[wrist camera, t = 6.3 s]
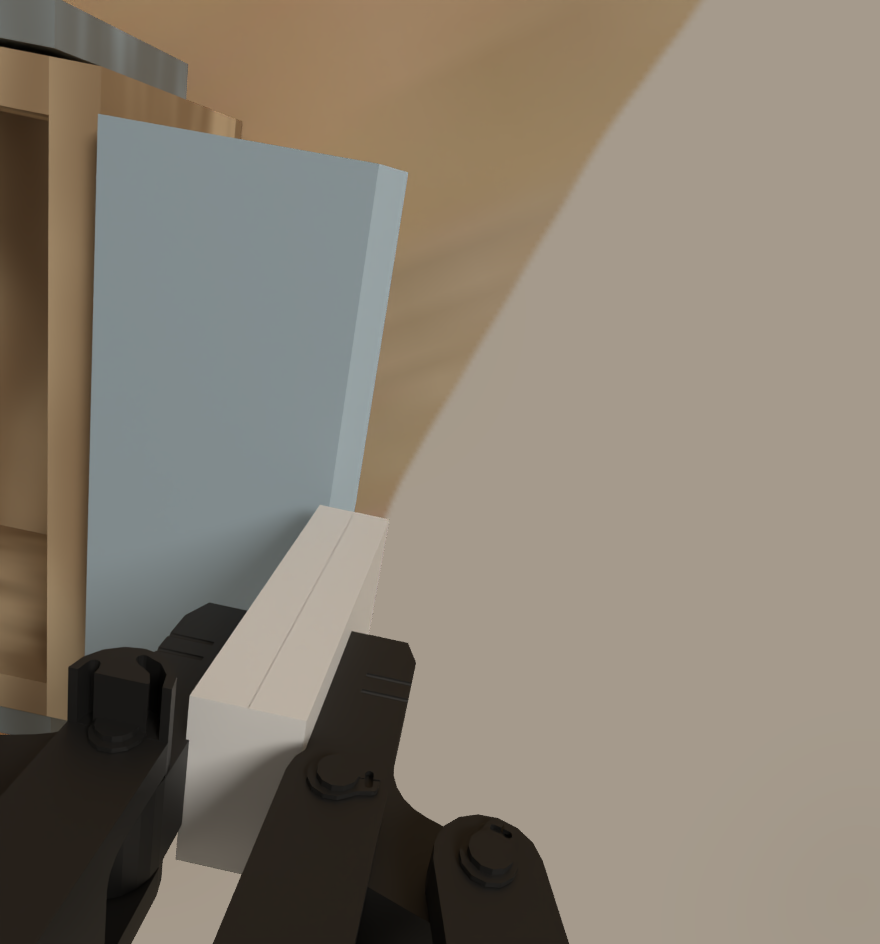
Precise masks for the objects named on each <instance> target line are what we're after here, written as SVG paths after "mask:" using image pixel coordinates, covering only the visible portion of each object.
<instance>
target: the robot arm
mask: <svg viewBox="0 0 880 944" xmlns="http://www.w3.org/2000/svg"><path fill="white" fill-rule="evenodd" d="M388 525H389V519H385V518H380V517H375V516H371V515H366V514H361V513H356V512H352V511H347V510H342V509H337V508H333V507H328V506H323V505H319V507H318V508H317V510H316V511H315V513H314V514H313V516H312V517H311V519H310V520H309V522H308V523H307V525H306V526H305V527H304V529H303V530H302V532H301V533H300V535H299V536H298V538H297V539H296V541H295V542H294V544H293V545H292V546H291V548H290V549H289V551H288V552H287V554H286V555H285V557H284V558H283V560H282V561H281V563H280V564H279V566H278V567H277V568H276V570H275V571H274V573H273V574H272V576H271V577H270V579H269V580H268V582H267V583H266V585H265V586H264V587H263V589H262V590H261V592H260V593H259V595H258V596H257V598H256V599H255V601H254V602H253V604H252V605H251V607H250V608H249V609H248V611H247V610H242V609H238V608H233V607H228V606H224V605H219V604H214V603H210V602H209V603H207V604H205V605H203V606H201V607H200V608H198V609H196V610H194V611H192V612H190V613H188V614H186V615H185V616H184V617H183V618H182V619H181V620H180V622H179V623H178V624H177V625H176V626H175V628H174V629H173V630H172V631H171V632H170V636H167V637H166V638H165V640H164V641H163V642H162V643H161V644H160V646H159V647H158V650H157V651H155V652H153V651H150V650H148V649H143V648H133V647H119V648H111V649H103V650H100V651H97V652H94V653H92V654H89V655H86V656H83V657H82V658H80V659H79V660H78V661H76V662H75V663H73V664H72V665H70V666H69V667H68V710H67V722H66V723H65V724H64V725H63V727H62V728H61V729H60V730H59V731H57V732H53V733H42V734H19V735H0V944H131V943H132V941H133V939H134V937H135V935H136V934H137V932H138V930H139V928H140V926H141V924H142V922H143V920H144V918H145V916H146V914H147V913H148V911H149V909H150V907H151V905H152V903H153V901H154V899H155V897H156V895H157V892H158V888H159V885H160V881H161V875H162V863H163V858H164V856H165V854H166V853H167V851H168V849H169V847H170V845H171V843H172V842H173V840H174V838H175V836H176V834H177V832H178V838H177V850H176V860H181V861H186V862H190V863H195V864H199V865H203V866H208V867H213V868H217V869H221V870H225V871H230V872H234V873H239V874H242V875H241V878H240V880H239V882H238V884H237V887H236V889H235V892H234V894H233V896H232V899H231V901H230V904H229V906H228V908H227V911H226V913H225V916H224V918H223V920H222V923H221V925H220V928H219V930H218V932H217V935H216V937H215V940H214V942H213V944H569V942H568V939H567V936H566V933H565V930H564V926H563V924H562V920H561V917H560V914H559V911H558V908H557V905H556V902H555V898H554V895H553V892H552V889H551V886H550V883H549V880H548V876H547V873H546V870H545V867H544V864H543V861H542V859H541V857H540V855H539V853H538V851H537V849H536V848H535V846H534V844H533V842H532V841H530V840H529V839H528V838H527V837H526V836H525V835H524V834H523V833H522V832H521V831H520V830H519V829H518V828H516V827H514V826H512V825H510V824H508V823H506V822H504V821H503V820H500V819H498V818H494V817H489V816H483V815H471V816H464V817H458V818H457V819H455V820H453V821H452V822H450V823H448V824H447V825H445V826H444V827H443V826H441V825H440V824H438V823H436V822H434V821H432V820H430V819H428V818H426V817H425V816H423V815H422V814H421V813H419V812H417V811H416V810H414V809H413V808H412V807H411V806H410V805H409V804H408V803H407V802H406V801H405V800H404V799H403V797H402V795H401V793H400V792H399V790H398V788H397V786H396V783H395V779H394V765H395V760H396V755H397V751H398V746H399V742H400V737H401V732H402V727H403V722H404V718H405V713H406V708H407V703H408V698H409V693H410V688H411V684H412V679H413V674H414V670H415V665H416V662H415V659H414V657H413V655H412V652H411V649H410V647H409V645H408V643H405V642H401V641H396V640H391V639H387V638H382V637H377V636H373V635H368V634H369V631H370V626H371V620H372V615H373V609H374V603H375V598H376V592H377V587H378V581H379V575H380V569H381V564H382V559H383V553H384V547H385V542H386V536H387V531H388Z"/></svg>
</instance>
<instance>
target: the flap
mask: <svg viewBox="0 0 880 944" xmlns="http://www.w3.org/2000/svg"><path fill="white" fill-rule="evenodd" d="M407 177H408V172H405V171H401V170H398V169H395V168H391V167H388V166H384V165H381V164H376V163H371V162H365V161H359V160H354V159H348V158H343V157H337V156H332V155H326V154H320V153H315V152H309V151H304V150H298V149H292V148H287V147H281V146H276V145H270V144H264V143H259V142H253V141H248V140H242V139H237V138H231V137H225V136H220V135H214V134H209V133H203V132H197V131H192V130H186V129H181V128H175V127H169V126H164V125H158V124H153V123H147V122H142V121H136V120H130V119H125V118H119V117H114V116H108V115H102V114H98V131H97V173H96V214H95V255H94V297H93V338H92V379H91V421H90V462H89V503H88V545H87V586H86V627H85V656H86V655H89V654H92V653H94V652H97V651H100V650H103V649H111V648H119V647H133V648H143V649H148V650H150V651H153V652H155V651H157V650H158V647H159V646H160V644H161V643H162V642H163V641H164V640H165V638H166V637H167V636H170V632H171V631H172V630H173V629H174V628H175V626H176V625H177V624H178V623H179V622H180V620H181V619H182V618H183V617H184V616H185V615H186V614H188V613H190V612H192V611H194V610H196V609H198V608H200V607H201V606H203V605H205V604H207V603H209V602H210V603H214V604H219V605H224V606H228V607H233V608H238V609H242V610H247V611H248V609H249V608H250V607H251V605H252V604H253V602H254V601H255V599H256V598H257V596H258V595H259V593H260V592H261V590H262V589H263V587H264V586H265V585H266V583H267V582H268V580H269V579H270V577H271V576H272V574H273V573H274V571H275V570H276V568H277V567H278V566H279V564H280V563H281V561H282V560H283V558H284V557H285V555H286V554H287V552H288V551H289V549H290V548H291V546H292V545H293V544H294V542H295V541H296V539H297V538H298V536H299V535H300V533H301V532H302V530H303V529H304V527H305V526H306V525H307V523H308V522H309V520H310V519H311V517H312V516H313V514H314V513H315V511H316V510H317V508H318V507H319V505H323V506H328V507H333V508H337V509H342V510H347V511H352V512H354V511H355V504H356V498H357V492H358V485H359V479H360V473H361V467H362V460H363V454H364V448H365V441H366V435H367V429H368V422H369V416H370V410H371V404H372V397H373V391H374V385H375V378H376V372H377V366H378V360H379V353H380V347H381V341H382V334H383V328H384V322H385V315H386V309H387V303H388V297H389V290H390V284H391V278H392V271H393V265H394V259H395V253H396V246H397V240H398V234H399V227H400V221H401V215H402V208H403V202H404V196H405V190H406V183H407Z"/></svg>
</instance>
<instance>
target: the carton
mask: <svg viewBox="0 0 880 944" xmlns="http://www.w3.org/2000/svg"><path fill="white" fill-rule="evenodd" d="M187 74H188V64H187V63H185V62H183V61H181V60H179V59H177V58H175V57H173V56H171V55H169V54H167V53H165V52H163V51H161V50H159V49H157V48H155V47H153V46H151V45H149V44H147V43H145V42H143V41H141V40H139V39H137V38H135V37H133V36H131V35H129V34H127V33H125V32H123V31H121V30H119V29H117V28H115V27H113V26H111V25H109V24H107V23H105V22H103V21H101V20H99V19H97V18H95V17H94V16H92V15H90V14H88V13H86V12H84V11H82V10H80V9H78V8H76V7H74V6H72V5H70V4H68V3H66V2H64V1H62V0H0V732H1V733H6V734H10V735H19V734H42V733H53V732H57V731H59V730H60V729H61V728H62V727H63V725H64V724H65V723H66V722H67V710H68V667H69V666H70V665H72V664H73V663H75V662H76V661H78V660H79V659H80V658H82V657H83V656H85V627H86V586H87V545H88V503H89V462H90V421H91V379H92V338H93V297H94V255H95V214H96V173H97V131H98V114H102V115H108V116H114V117H119V118H125V119H130V120H136V121H142V122H147V123H153V124H158V125H164V126H169V127H175V128H181V129H186V130H192V131H197V132H203V133H209V134H214V135H220V136H225V137H231V138H237V139H241V131H242V121H239V120H237V119H234V118H232V117H229V116H227V115H224V114H222V113H219V112H217V111H214V110H211V109H209V108H206V107H204V106H201V105H199V104H196V103H194V102H191V101H189V100H186V91H187Z"/></svg>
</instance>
